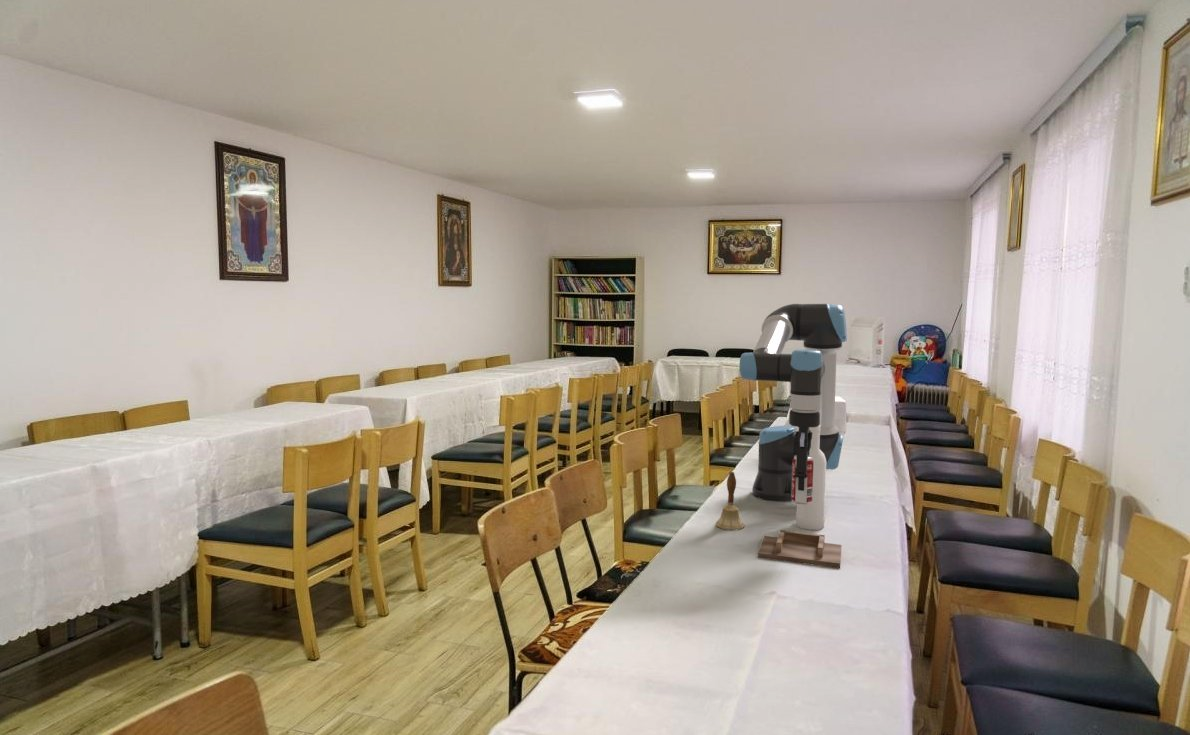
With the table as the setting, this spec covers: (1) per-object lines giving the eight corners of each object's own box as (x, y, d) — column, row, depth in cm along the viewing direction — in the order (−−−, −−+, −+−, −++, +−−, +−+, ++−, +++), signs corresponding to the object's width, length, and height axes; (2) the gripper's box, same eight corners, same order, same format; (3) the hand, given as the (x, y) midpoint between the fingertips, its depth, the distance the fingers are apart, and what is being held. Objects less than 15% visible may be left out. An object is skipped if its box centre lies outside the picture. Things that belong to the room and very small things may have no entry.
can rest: (764, 539, 193) (764, 526, 193) (841, 549, 186) (841, 535, 186) (757, 557, 180) (758, 543, 180) (840, 568, 173) (840, 553, 173)
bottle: (825, 531, 200) (829, 427, 197) (797, 529, 202) (800, 426, 199) (822, 522, 208) (826, 422, 205) (794, 520, 210) (798, 421, 207)
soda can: (788, 499, 184) (789, 454, 183) (807, 498, 184) (809, 453, 183) (795, 504, 179) (796, 458, 178) (815, 504, 179) (816, 458, 178)
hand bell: (747, 523, 207) (748, 470, 206) (740, 531, 200) (742, 477, 198) (719, 519, 211) (720, 467, 209) (712, 527, 203) (713, 473, 202)
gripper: (792, 404, 189) (789, 488, 191) (786, 414, 172) (783, 507, 174) (821, 405, 186) (818, 491, 189) (818, 416, 169) (814, 510, 172)
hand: (801, 498), depth 182 cm, fingers closed on soda can, 5 cm apart
